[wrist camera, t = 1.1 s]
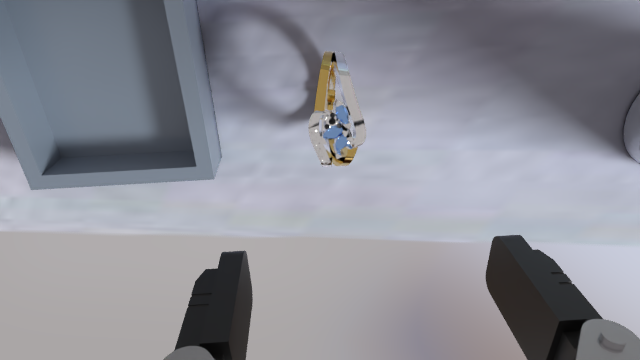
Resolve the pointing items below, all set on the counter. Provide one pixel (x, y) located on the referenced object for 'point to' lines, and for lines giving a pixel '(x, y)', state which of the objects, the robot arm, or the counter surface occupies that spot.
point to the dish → (106, 92)
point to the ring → (326, 124)
